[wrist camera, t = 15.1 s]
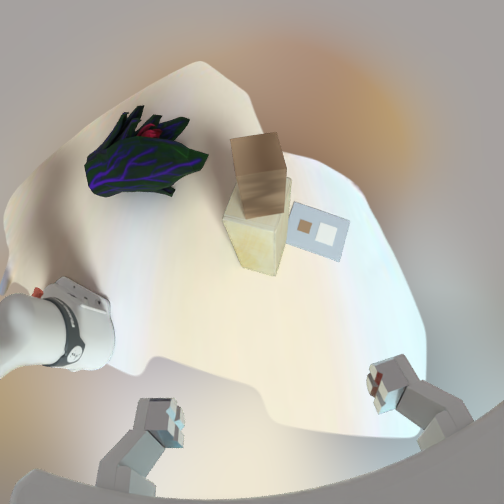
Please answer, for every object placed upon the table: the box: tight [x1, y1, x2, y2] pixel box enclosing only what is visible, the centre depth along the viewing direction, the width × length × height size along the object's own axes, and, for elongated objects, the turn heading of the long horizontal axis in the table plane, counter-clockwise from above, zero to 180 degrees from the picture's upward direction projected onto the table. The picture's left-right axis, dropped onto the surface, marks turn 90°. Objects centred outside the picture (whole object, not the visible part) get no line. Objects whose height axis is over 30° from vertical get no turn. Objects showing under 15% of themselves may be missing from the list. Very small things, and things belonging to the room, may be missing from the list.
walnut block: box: [230, 132, 287, 219], centre depth 29 cm, size 4×4×9 cm
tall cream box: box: [222, 177, 292, 276], centre depth 43 cm, size 8×7×21 cm
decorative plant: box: [84, 105, 209, 197], centre depth 51 cm, size 21×26×30 cm
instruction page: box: [286, 202, 350, 262], centre depth 54 cm, size 12×9×1 cm
